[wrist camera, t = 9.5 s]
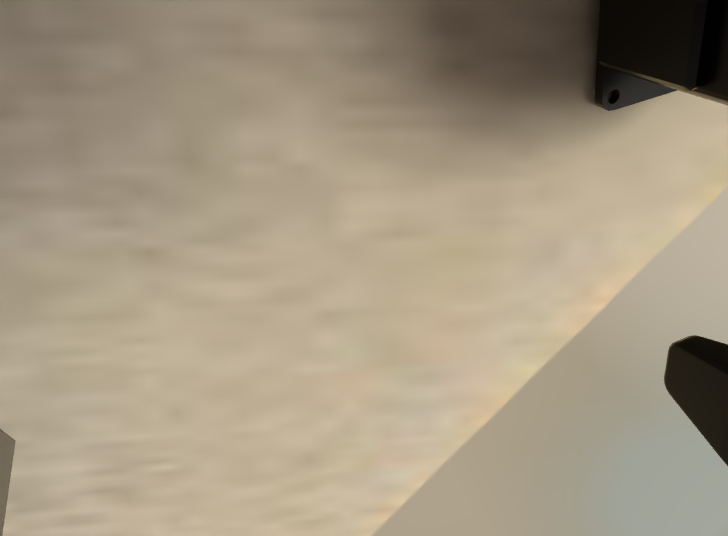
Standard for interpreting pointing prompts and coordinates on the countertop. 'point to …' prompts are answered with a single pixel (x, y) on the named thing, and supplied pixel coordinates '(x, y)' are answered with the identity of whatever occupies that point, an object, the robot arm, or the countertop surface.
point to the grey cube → (5, 472)
